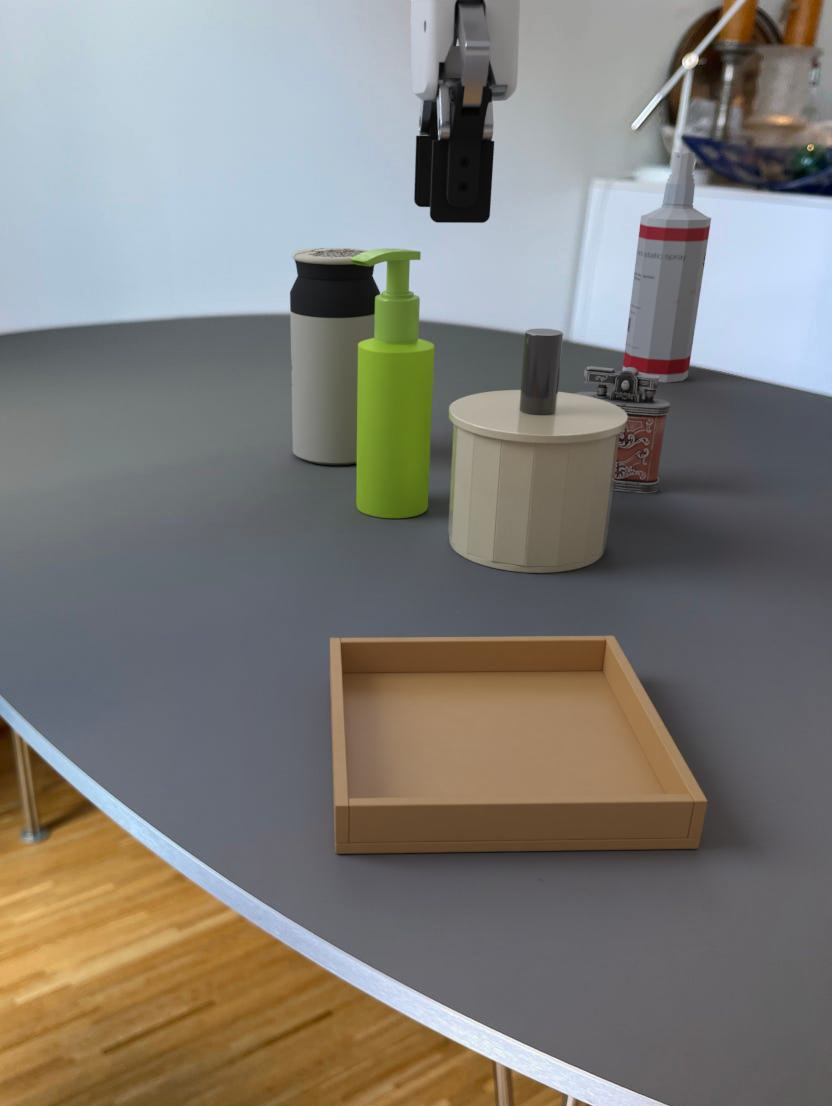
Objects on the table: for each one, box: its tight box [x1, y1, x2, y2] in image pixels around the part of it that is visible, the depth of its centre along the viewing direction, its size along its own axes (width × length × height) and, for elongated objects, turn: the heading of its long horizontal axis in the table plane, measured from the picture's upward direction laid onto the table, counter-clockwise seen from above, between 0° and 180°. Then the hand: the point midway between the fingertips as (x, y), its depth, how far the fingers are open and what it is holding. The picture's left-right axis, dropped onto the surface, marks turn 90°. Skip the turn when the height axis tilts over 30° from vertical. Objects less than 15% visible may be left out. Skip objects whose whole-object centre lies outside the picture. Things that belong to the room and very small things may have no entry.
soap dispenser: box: [350, 248, 435, 519], centre depth 83 cm, size 6×7×20 cm
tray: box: [329, 635, 709, 855], centre depth 54 cm, size 16×16×3 cm
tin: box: [447, 424, 620, 574], centre depth 78 cm, size 12×12×10 cm
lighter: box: [574, 365, 671, 494], centre depth 91 cm, size 8×3×10 cm, turn 65°
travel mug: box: [289, 247, 381, 466], centre depth 97 cm, size 8×8×18 cm
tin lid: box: [448, 328, 628, 444], centre depth 75 cm, size 13×13×7 cm
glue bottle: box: [622, 151, 712, 383], centre depth 126 cm, size 8×8×25 cm
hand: (448, 213), depth 62 cm, fingers open, 9 cm apart
